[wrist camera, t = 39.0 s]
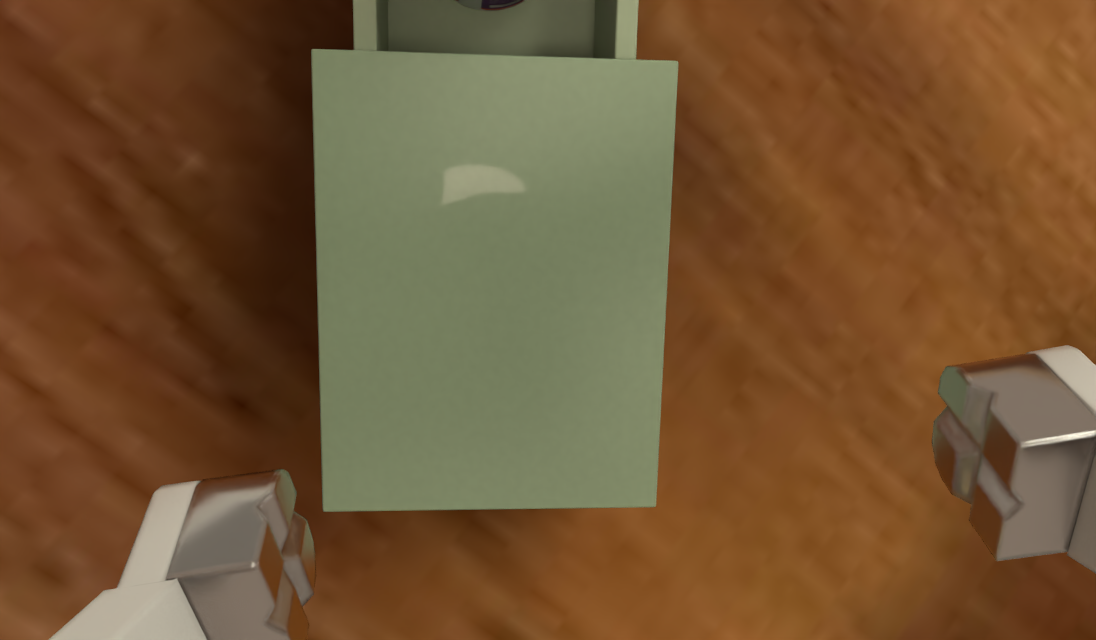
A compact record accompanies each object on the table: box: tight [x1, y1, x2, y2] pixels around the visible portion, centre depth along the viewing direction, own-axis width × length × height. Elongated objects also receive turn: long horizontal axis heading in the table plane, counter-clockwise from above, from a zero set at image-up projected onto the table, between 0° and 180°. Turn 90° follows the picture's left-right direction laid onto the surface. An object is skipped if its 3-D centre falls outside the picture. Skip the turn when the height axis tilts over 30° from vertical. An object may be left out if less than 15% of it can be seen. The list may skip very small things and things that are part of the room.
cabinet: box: [311, 49, 678, 512], centre depth 37 cm, size 17×13×9 cm
